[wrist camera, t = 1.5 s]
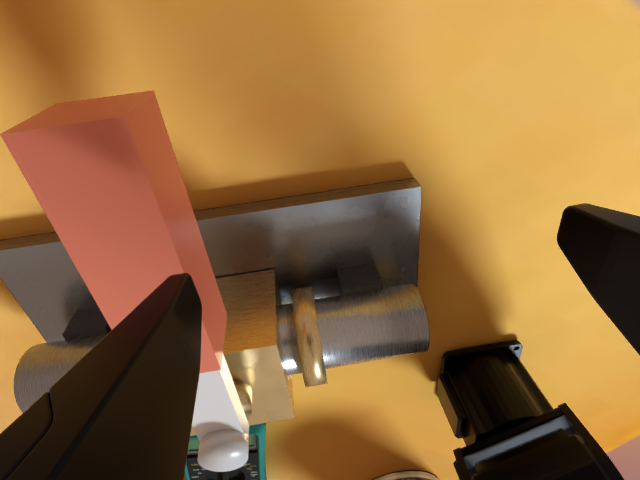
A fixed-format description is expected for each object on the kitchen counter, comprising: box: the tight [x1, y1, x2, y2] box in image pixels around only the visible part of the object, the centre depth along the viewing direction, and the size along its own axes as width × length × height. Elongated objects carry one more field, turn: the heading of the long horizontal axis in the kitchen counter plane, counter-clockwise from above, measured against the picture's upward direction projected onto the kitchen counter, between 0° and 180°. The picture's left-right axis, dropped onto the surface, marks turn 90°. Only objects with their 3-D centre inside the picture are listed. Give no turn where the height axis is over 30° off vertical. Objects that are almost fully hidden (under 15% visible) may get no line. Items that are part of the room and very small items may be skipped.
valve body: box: [0, 178, 430, 436], centre depth 23 cm, size 24×14×8 cm, turn 96°
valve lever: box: [0, 91, 249, 472], centre depth 14 cm, size 16×3×3 cm, turn 6°
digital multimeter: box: [184, 423, 267, 480], centre depth 35 cm, size 7×15×3 cm, turn 176°
